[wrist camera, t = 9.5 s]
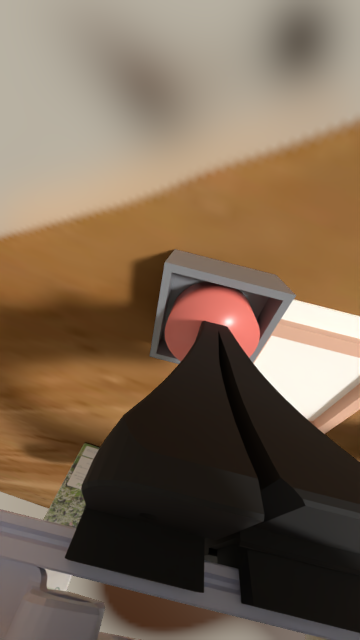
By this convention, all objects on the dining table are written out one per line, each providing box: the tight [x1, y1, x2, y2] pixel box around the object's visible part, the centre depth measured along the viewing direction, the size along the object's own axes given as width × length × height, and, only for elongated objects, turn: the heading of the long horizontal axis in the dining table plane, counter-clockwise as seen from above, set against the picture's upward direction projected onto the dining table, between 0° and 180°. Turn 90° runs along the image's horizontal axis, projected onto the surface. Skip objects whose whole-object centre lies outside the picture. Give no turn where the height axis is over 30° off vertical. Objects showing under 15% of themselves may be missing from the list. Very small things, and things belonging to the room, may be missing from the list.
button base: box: [150, 249, 296, 364], centre depth 11 cm, size 6×6×3 cm
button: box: [165, 281, 260, 361], centre depth 10 cm, size 5×5×2 cm
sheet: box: [254, 299, 360, 421], centre depth 20 cm, size 12×29×1 cm, turn 168°
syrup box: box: [43, 443, 100, 591], centre depth 24 cm, size 6×6×14 cm
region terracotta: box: [253, 319, 360, 434], centre depth 15 cm, size 11×11×1 cm
